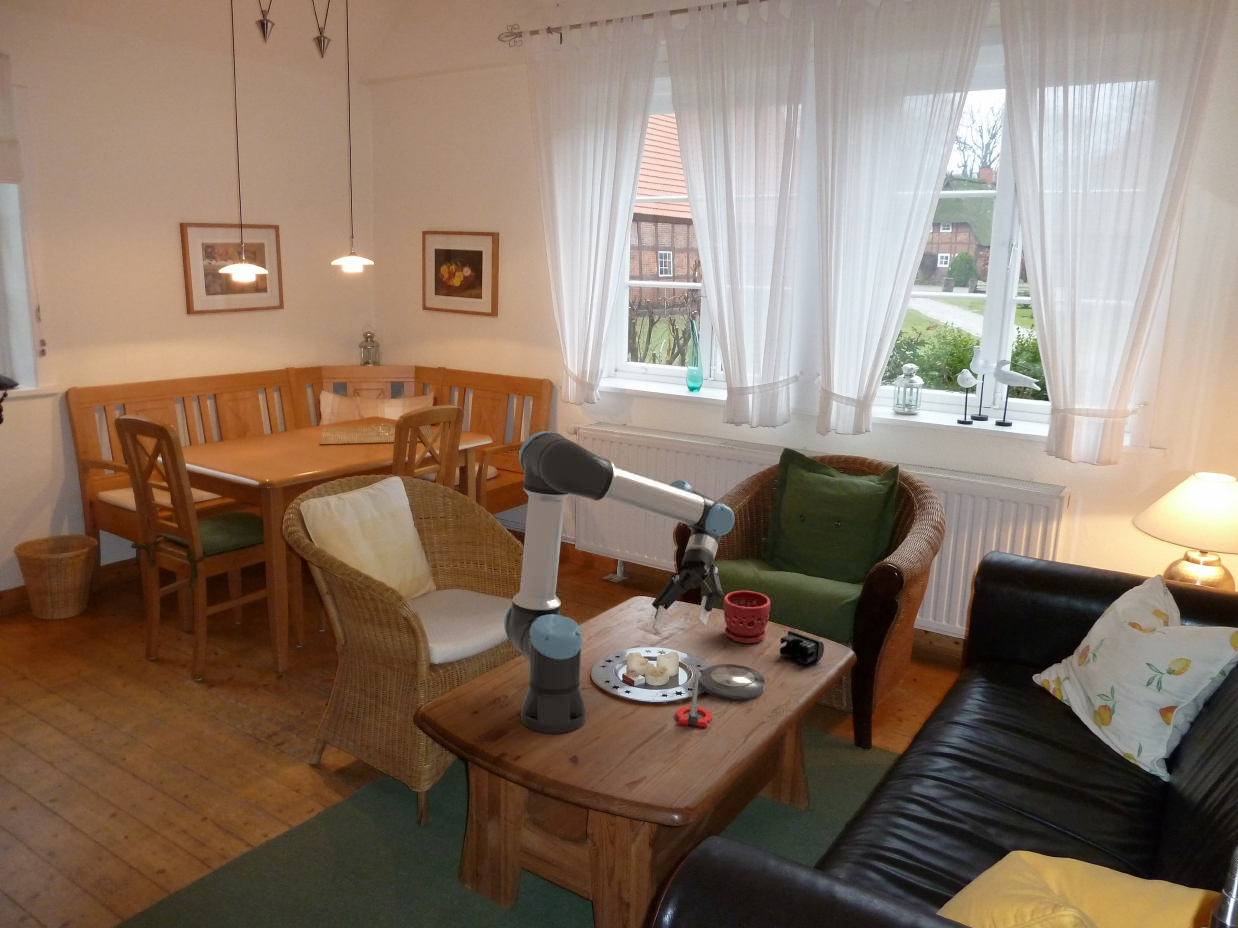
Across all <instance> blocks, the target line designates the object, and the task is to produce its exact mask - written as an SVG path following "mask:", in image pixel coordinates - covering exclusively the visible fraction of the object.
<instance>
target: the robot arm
mask: <svg viewBox="0 0 1238 928" xmlns="http://www.w3.org/2000/svg"><path fill="white" fill-rule="evenodd" d="M518 459H519V464H520V466H521V467H520V468H521V469H522V471H523V472H524V473H523V483H522V489H523V491H524V492H525V494H527V496H528V498H527V499H528V500H527V509H526V511H527V512H526V522H525V530H524V531H525V533H524V541H523V542H524V543H523V552H522V553H523V555H522V565H521V575H520V586H519V587H520V588H519V592H518V593H516V594H515V595H513V597H512V601H511V602H512V603H511V606H510V607H509V608H508V609H507V611H506V613H505V616H504V619H503V625H504V626H503V627H504V631H505V634H506V637H507V638H508V641H509V642H510V644H511V645H512V646H514V647H515V649H517V651H518V652H520V653H521V654H522V656H523V657H524V658H525V659H526V660H527V661H528V663H529V673H528V674H529V676H528V677H529V682H528V684H529V686H528V689H527V691H526V694H525V697H524V700H523V703H522V705H521V710H520V721H521V722H522V724H523V725H524V726H525V727H527V729H531V730H533V731H536V732H538V733H545V734H562V733H563V734H564V733H568V732H573V731H575V730H577V729H579V728H581V727H582V726H583V725H584V724H585V723H586V720H587V707H586V704H585V701H584V697H583V694H582V691H581V690H582V689H581V686H580V682H581V664H582V663H581V661H582V660H581V659H582V646H583V638H582V630H581V627H580V626H579V624H578V622H577V621H575V620H574V619H572V618H571V617H569V616H566V617H565V616H564V615H561V608H562V607H561V606H562V604H561V603H562V602H561V601H562V600H561V599H559V597H558V596H557V595H556V590H557V583H558V582H557V580H558V574H559V573H558V572H559V571H558V570H559V562H560V553H561V542H562V534H563V533H562V532H563V524H564V522H563V521H564V515H565V513H564V511H565V504H566V503H565V502H566V499H567V498H568V497H569V496H573V495H574V496H576V497H581V498H582V497H583V498H586V499H590V500H592V501H597V502H599V501H602V500H609V501H611V502H614V503H618V504H621V505H623V506H624V505H625V506H627V507H631V508H634V509H636V510H641V511H643V512H647V513H650V514H653V515H656V516H658V517H659V516H660V517H662V518H666V519H669V520H672V521H675V522H679V523H682V524H685V525H686V526H687V527H688V528H689V529H690V530H691V531H690V536H689V538H688V542H687V546H686V547H685V548H686V549H685V550H684V551H685V553H684V555H683V558H682V562H681V568H682V569H681V572H680V574H678V575H677V574H675V573H671V574H670V576H669V578H668V580H667V582H666V584H665V585H664V586H663V588H661V591H660V592H659V593H658V595H657V596H656V598H655V599H654V600H653V602H652V603H651V606H652V607H653V608H654V609H655V610H656V611H655V613H654V614H655V615H654V622H653V624H652V629H653V630H654V631H655V632H656V633H657V634H658V635H662V633H663V631H664V630H663V629H664V627H665V624H666V620H667V617H668V614H669V611H668V609H669V608H670V607H671V606H672V605H673V604H674V603H675V602H676V600H678V598H679V597H680V596H681V595H682V594H686V593H687V591H689V590H691V589H697V588H699V587H700V588H701V589H702V591H703V592H704V594H705V595H706V596H705V595H704V596H703V597H702V600H701V603H700V606H699V610H698V613H697V618H696V620H697V621H698V622H699V623H700V624H701V625H702V626H703V627H704V626H705V627H706V625H707V623H708V619H709V616H710V612H712V610H713V608H714V603H715V602H716V600H717V599H722V598H723V597H724V593H723V589H722V585H721V581H720V577H719V576H720V570H719V568H718V567H716V566H715V564H714V562H715V558H716V555H717V550H718V549H719V546H720V545H719V543H720V541H721V537H723V536H724V535H727V534H728V533H729V532H730V531H731V530H732V529H733V526H734V524H735V520H736V519H735V514H734V511H733V509H732V508H730V507H729V506H728V505H726V504H725V503H721V502H719V501H718V500H715V499H712V498H710V497H708V496H706V495H704V494H702V493H700V492H698V491H696V490H695V489H694V488H693V487H692V485H691V484H689V483H688V482H687V481H686V480H684V479H677V480H674V481H672V482H671V483H669V484H666V483H663V482H661V481H657V480H656V479H651V478H649V477H646V476H643V475H640V474H637V473H633V472H631V471H628V470H624V469H622V468H619V467H616V466H615V465H614V463H613V462H612V461H611V460H610V459H607V458H604V457H601V456H599V455H597V454H596V453H592V451H589V450H588V449H586V448H584V447H583V446H581V445H580V444H578V443H577V442H574V441H572V440H570V439H568V438H566V437H565V436H564V435H561V434H560V433H559V432H558V433H557V432H552V431H543V430H542V431H539V432H536V433H533V434H531V435H530V436H529V437H528V438H527V439H525V441H524V442H523V443H522V445H521V447H520V450H519V455H518ZM708 577H709V580H710V583H711V588H712V590H711V588H710V587H709V584H708V582H706V580H707V578H708ZM681 585H682V586H681Z"/></svg>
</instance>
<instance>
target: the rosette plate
mask: <svg viewBox="0 0 1238 928" xmlns="http://www.w3.org/2000/svg"><path fill="white" fill-rule="evenodd" d="M765 681H766V680H765V677H764V676H763V674H762V673H761V672H759V671H758V670H756V669H754V668H751V667H747V666H745V665H740V664H732V663H731V664H730V663H729V664H728V663H724V664H723V663H721V664H714V665H711V666H708V667H705V668H704V669H703V670H702V671H701V674H700V687H701V690H702V691H704V692H705V693H706V694H708V695H709V696H712V697H714V698H716V699H720V700H724V701H729V702H730V701H731V702H733V701H734V702H745V701H752V700H755V699H757V698H759V697H761V696H762V695H763V694H764V692H765V683H766V682H765Z"/></svg>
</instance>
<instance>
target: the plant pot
mask: <svg viewBox="0 0 1238 928" xmlns="http://www.w3.org/2000/svg"><path fill="white" fill-rule="evenodd" d="M723 597H724V598H723V617H724V623H725V625H726V627H725V628H724V632H725V634H726V636H727V637H728V638H729V639H731V640H732V641H734V642H738V643H743V644H752V643H758V642H761V641H762V640H763V639H764V638H765V637H766V633H767V632H766V630H765V629H766V627H767V625H768V622H769V617H770V611H771V599H770V598H769V597H768V596H766V595H765V594H763V593H760V592H756V591H751V590H736V591H731V592H729V593H726V595H725V596H723ZM741 600H744V602H743V603H742V602H741ZM734 602H736V603H737V604H734ZM749 603H750V604H749Z"/></svg>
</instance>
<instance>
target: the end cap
mask: <svg viewBox="0 0 1238 928" xmlns="http://www.w3.org/2000/svg"><path fill="white" fill-rule="evenodd" d="M779 641H780V644H781V645H782V644H785V643H786V644H785V645H783V646H781V647H780V648H779V654H780V656H779V658H780V659H781V660H783V661H786V662H789V663H791V664H795V665H796V666H800V667H802V668H804V669H809V668H811V667H814V666H815V665H816V664H818V663H819V662H821V661H820V660H822V658H823V655H824V652H825V646H824V643H823V641H822V640H819V639H816V638H813V637H809V636H807V635H804V634H801V633H798V632H796V631H793V630H788V631H787V635H786V636H785V635H784V636H782V637H781V638H780V640H779Z"/></svg>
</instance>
